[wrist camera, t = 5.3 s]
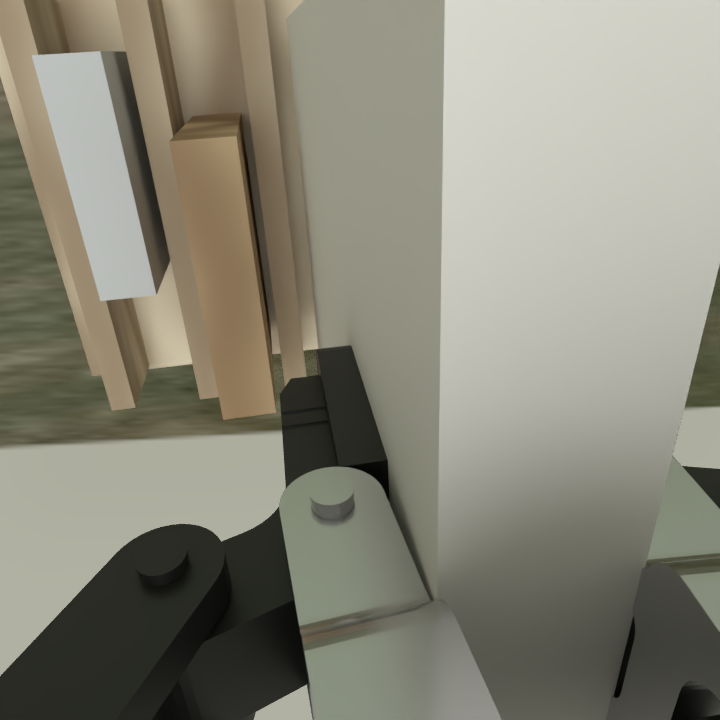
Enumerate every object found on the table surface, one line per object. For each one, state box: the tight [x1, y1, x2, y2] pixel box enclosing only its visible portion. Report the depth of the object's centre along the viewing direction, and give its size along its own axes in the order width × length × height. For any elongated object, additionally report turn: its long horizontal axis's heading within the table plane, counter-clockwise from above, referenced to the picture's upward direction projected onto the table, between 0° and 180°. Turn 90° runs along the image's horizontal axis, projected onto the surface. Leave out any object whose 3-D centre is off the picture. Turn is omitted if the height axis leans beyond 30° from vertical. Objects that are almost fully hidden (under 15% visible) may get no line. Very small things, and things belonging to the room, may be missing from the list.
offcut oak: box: [169, 113, 276, 420], centre depth 24 cm, size 2×10×8 cm, turn 3°
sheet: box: [286, 0, 720, 720], centre depth 14 cm, size 2×13×18 cm, turn 3°
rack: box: [0, 0, 318, 411], centre depth 25 cm, size 16×16×5 cm
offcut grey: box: [32, 51, 170, 301], centre depth 22 cm, size 2×8×6 cm, turn 3°
